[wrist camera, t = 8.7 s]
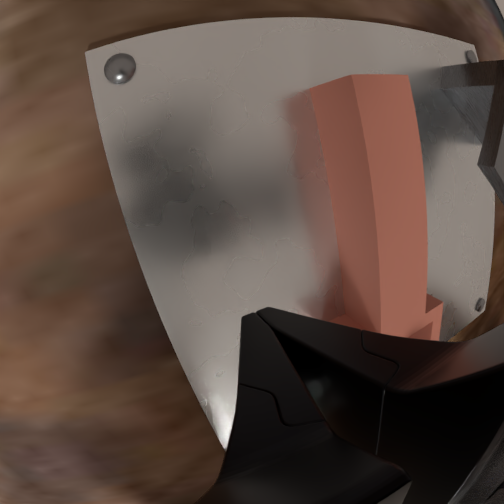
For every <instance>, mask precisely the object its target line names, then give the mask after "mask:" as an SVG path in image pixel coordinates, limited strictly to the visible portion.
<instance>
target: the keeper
mask: <svg viewBox="0 0 504 504" xmlns="http://www.w3.org/2000/svg"><path fill="white" fill-rule="evenodd" d="M440 90H441V91H442V93H443V94H444V95H445V96H446V97H447V99H448V100H449V101H450V102H451V103H452V105H453V106H454V107H455V108H456V110H457V111H458V112H459V114H460V115H461V116H462V117H463V119H464V120H465V121H466V123H467V124H468V126H469V127H470V128H471V130H472V131H473V132H474V134H475V135H476V137H477V138H478V140H479V141H480V142H481V144H482V148H481V152H480V155H479V159H478V163H477V165H478V167H479V168H480V170H481V171H482V173H483V174H484V175H485V177H486V178H487V180H488V181H489V183H490V184H491V186H492V187H493V189H494V190H495V192H496V194H497V195H498V197H499V198H500V200H501V202H502V203H503V205H504V60H496V61H484V62H475V63H466V64H458V65H451V66H446V67H445V70H444V74H443V78H442V82H441V85H440Z"/></svg>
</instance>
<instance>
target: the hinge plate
mask: <svg viewBox="0 0 504 504" xmlns="http://www.w3.org/2000/svg"><path fill="white" fill-rule="evenodd" d="M85 56H86V62H87V68H88V74H89V80H90V85H91V90H92V96H93V101H94V105H95V110H96V115H97V119H98V124H99V128H100V132H101V137H102V141H103V145H104V149H105V153H106V157H107V161H108V164H109V168H110V172H111V175H112V179H113V183H114V186H115V189H116V193H117V196H118V200H119V203H120V206H121V209H122V213H123V216H124V219H125V222H126V225H127V228H128V231H129V234H130V237H131V240H132V243H133V246H134V249H135V252H136V255H137V258H138V260H139V263H140V266H141V269H142V271H143V274H144V277H145V280H146V282H147V285H148V287H149V290H150V293H151V295H152V298H153V300H154V303H155V305H156V308H157V310H158V313H159V315H160V318H161V320H162V322H163V325H164V327H165V330H166V332H167V334H168V337H169V339H170V341H171V343H172V346H173V348H174V350H175V352H176V355H177V357H178V359H179V361H180V363H181V366H182V368H183V370H184V372H185V374H186V376H187V378H188V380H189V383H190V385H191V387H192V389H193V391H194V393H195V395H196V397H197V399H198V401H199V403H200V405H201V407H202V409H203V411H204V413H205V414H206V416H207V418H208V420H209V422H210V424H211V426H212V428H213V430H214V431H215V433H216V435H217V437H218V439H219V441H220V442H221V444H222V446H223V448H224V449H225V451H226V448H227V444H228V440H229V437H230V433H231V429H232V424H233V420H234V415H235V409H236V400H237V387H238V368H239V349H240V331H241V318H242V316H244V315H247V314H250V313H252V312H255V313H256V311H258V310H260V309H263V308H265V307H273V308H276V309H280V310H284V311H288V312H292V313H296V314H300V315H304V316H308V317H312V318H316V319H320V320H324V321H330V320H332V319H334V318H337V317H339V316H341V315H343V314H345V308H344V297H343V287H342V278H341V269H340V260H339V252H338V244H337V236H336V229H335V222H334V215H333V209H332V202H331V196H330V190H329V184H328V178H327V172H326V167H325V161H324V156H323V150H322V145H321V140H320V135H319V130H318V126H317V121H316V116H315V111H314V107H313V103H312V98H311V94H310V90H309V88H312V87H315V86H317V85H320V84H323V83H326V82H329V81H332V80H335V79H338V78H342V77H345V76H348V75H351V74H397V75H408V77H409V82H410V86H411V91H412V96H413V101H414V106H415V112H416V117H417V123H418V130H419V136H420V143H421V151H422V159H423V169H424V179H425V191H426V207H427V233H428V269H427V294H429V295H431V296H433V297H435V298H437V299H439V300H441V301H443V312H442V321H441V329H440V336H439V341H446V342H447V341H448V340H449V339H451V338H452V337H453V336H455V335H456V334H457V333H458V332H460V331H461V330H462V329H463V328H465V327H466V326H467V325H468V324H469V323H471V322H472V321H473V320H474V319H475V318H477V317H478V316H479V315H480V314H481V313H482V312H484V311H485V306H486V300H487V294H488V287H489V280H490V272H491V263H492V252H493V239H494V218H495V190H494V189H493V187H492V186H491V184H490V183H489V181H488V180H487V178H486V177H485V175H484V174H483V173H482V171H481V170H480V168H479V167H478V165H477V163H478V159H479V155H480V152H481V148H482V144H481V142H480V141H479V140H478V138H477V137H476V135H475V134H474V132H473V131H472V130H471V128H470V127H469V126H468V124H467V123H466V121H465V120H464V119H463V117H462V116H461V115H460V114H459V112H458V111H457V110H456V108H455V107H454V106H453V105H452V103H451V102H450V101H449V100H448V99H447V97H446V96H445V95H444V94H443V93H442V91H441V90H440V85H441V82H442V78H443V74H444V70H445V67H446V66H451V65H458V64H466V63H475V62H479V61H478V57H477V53H476V49H475V46H474V45H472V44H469V43H466V42H463V41H459V40H456V39H452V38H448V37H445V36H441V35H437V34H433V33H428V32H424V31H419V30H415V29H410V28H404V27H399V26H393V25H387V24H380V23H373V22H365V21H356V20H345V19H331V18H308V17H277V18H254V19H240V20H229V21H219V22H211V23H204V24H197V25H190V26H184V27H179V28H173V29H168V30H163V31H159V32H154V33H150V34H145V35H141V36H137V37H133V38H129V39H126V40H122V41H118V42H115V43H112V44H108V45H105V46H102V47H99V48H96V49H93V50H90V51H87V52H85Z"/></svg>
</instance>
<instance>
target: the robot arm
mask: <svg viewBox="0 0 504 504" xmlns="http://www.w3.org/2000/svg"><path fill="white" fill-rule="evenodd" d="M195 504H504V323H503V324H501V325H499V326H497V327H496V328H494V329H492V330H490V331H488V332H486V333H485V334H483V335H481V336H479V337H477V338H474V339H471V340H468V341H463V342H446V341H436V340H426V339H416V338H407V337H400V336H393V335H387V334H382V333H377V332H372V331H367V330H362V331H361V329H358V328H354V327H349V326H345V325H341V324H337V323H332V322H328V321H324V320H320V319H316V318H312V317H308V316H304V315H300V314H296V313H292V312H288V311H284V310H280V309H276V308H273V307H265V308H263V309H260V310H258V311H256V313H255V312H252V313H250V314H247V315H244V316H242V318H241V331H240V349H239V368H238V387H237V400H236V409H235V415H234V420H233V424H232V429H231V433H230V437H229V440H228V444H227V448H226V452H225V456H224V460H223V464H222V467H221V470H220V473H219V476H218V478H217V480H216V482H215V483H214V485H213V486H212V487H211V489H210V490H209V491H208V492H206V493H205V494H204V495H203V496H202V497H201V498H200V499H199V500H198V501H197V502H196V503H195Z"/></svg>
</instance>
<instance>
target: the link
mask: <svg viewBox="0 0 504 504" xmlns="http://www.w3.org/2000/svg"><path fill="white" fill-rule="evenodd" d="M309 90H310V94H311V98H312V103H313V107H314V111H315V116H316V121H317V126H318V130H319V135H320V140H321V145H322V150H323V156H324V161H325V167H326V172H327V178H328V184H329V190H330V196H331V202H332V209H333V215H334V222H335V229H336V236H337V244H338V252H339V260H340V269H341V278H342V287H343V297H344V308H345V314H343V315H341V316H339V317H337V318H334V319H332V320H330V321H328V322H332V323H337V324H341V325H345V326H349V327H354V328H358V329H361V331H362V330H367V331H372V332H377V333H382V334H387V335H393V336H400V337H407V338H416V339H426V340H436V341H439V336H440V329H441V321H442V312H443V301H441V300H439V299H437V298H435V297H433V296H431V295H429V294H427V269H428V233H427V207H426V191H425V179H424V169H423V159H422V151H421V143H420V136H419V130H418V123H417V117H416V112H415V106H414V101H413V96H412V91H411V86H410V82H409V77H408V75H397V74H351V75H348V76H345V77H342V78H338V79H335V80H332V81H329V82H326V83H323V84H320V85H317V86H315V87H312V88H309Z"/></svg>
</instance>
